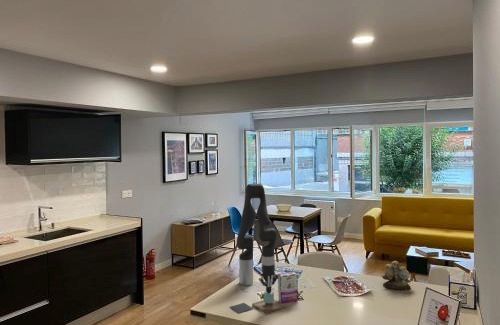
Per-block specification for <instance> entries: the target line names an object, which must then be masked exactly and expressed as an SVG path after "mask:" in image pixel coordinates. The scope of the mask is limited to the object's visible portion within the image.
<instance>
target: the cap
mask: <svg viewBox="0 0 500 325" xmlns="http://www.w3.org/2000/svg"><path fill="white" fill-rule="evenodd" d="M263 300H264V302H265V303H273V302H274V300H275V292H274V291H272V290H271V293H267V292H266V290H265V291H263Z"/></svg>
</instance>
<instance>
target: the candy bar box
mask: <svg viewBox="0 0 500 325" xmlns="http://www.w3.org/2000/svg"><path fill="white" fill-rule="evenodd" d="M277 275H278V278H277V288H278V295H277V296H278V302H280V303H282V304H284V303H291V302H297V301H299V288H298V287H299V286H298V273H296V271H291V272H290V271H289V272H283V273H278V274H277Z"/></svg>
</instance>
